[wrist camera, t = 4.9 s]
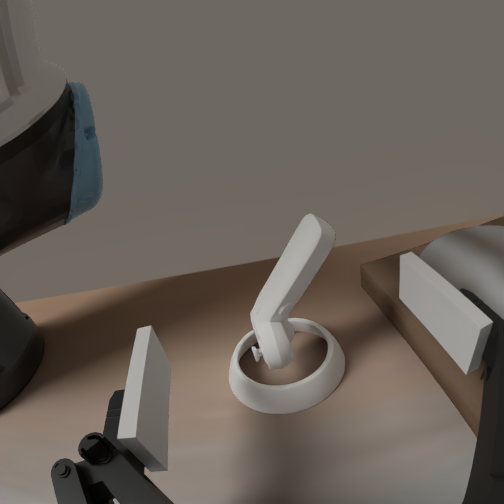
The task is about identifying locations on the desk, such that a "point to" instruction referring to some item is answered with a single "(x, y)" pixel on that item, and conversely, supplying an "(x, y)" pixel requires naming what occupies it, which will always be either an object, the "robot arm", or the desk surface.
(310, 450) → the desk surface
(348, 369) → the desk surface
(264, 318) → the white vr controller
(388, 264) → the rosette stand
